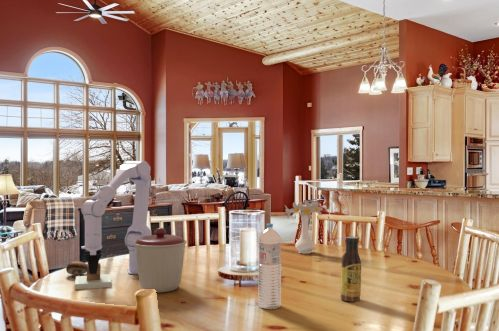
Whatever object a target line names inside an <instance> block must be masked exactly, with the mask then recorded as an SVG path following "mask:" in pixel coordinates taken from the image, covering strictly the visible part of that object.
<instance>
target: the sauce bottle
mask: <svg viewBox="0 0 499 331" xmlns="http://www.w3.org/2000/svg"><path fill="white" fill-rule="evenodd" d="M359 240H360V239H359V237H357V236H346V237H345V252H344V253H343V255H342V257H341V267H340V299H341V300H342V301H344V302H350V303H352V302H353V303H355V302H359V301H360V300H361V292H362V291H361V287H362V261H361V256H360V255H359V249H358V247H359Z"/></svg>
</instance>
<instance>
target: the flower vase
mask: <svg viewBox="0 0 499 331" xmlns="http://www.w3.org/2000/svg"><path fill="white" fill-rule="evenodd" d="M284 207H285V209H284V210H285V213H286V214H287V216H286V217H287V220H289V219H290V215H291V213H292V215H291V216H292V217H293V218H294V217H296V215H297V214H299V213H300V218H301V233H300V236H299V238H298V240H297V241H296V243H295V244H294V245H295V246H294V247H295V249H296V250H297V251H298V253H299V254H301V253H302V254H303V255H304V254H305V255H307V254H312V251H313V250H314V249H315V247H316V246H315V243H314V241H313V240H312V239H311V237H310V232H309V220H312V213H313V214H314V213H318V214H319V215H320V216H323V213H322V212H321V211H323V210H324V209H323V207H322V206H319V201H318V200H316V201H312V202H308V200H305V201H304V204H303V201H300V202H299V203H298V204H297V203H296V202H293V203H292V208H288V207H287V205H284Z"/></svg>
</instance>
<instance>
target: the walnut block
mask: <svg viewBox="0 0 499 331" xmlns="http://www.w3.org/2000/svg"><path fill="white" fill-rule="evenodd" d="M86 264H87V272H86V276H87V280H100V275H101V267H102V266H101V262H98V268H97V273H96V274H90V271H89V266H88V263H86Z"/></svg>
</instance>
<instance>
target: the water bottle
mask: <svg viewBox="0 0 499 331" xmlns="http://www.w3.org/2000/svg"><path fill="white" fill-rule="evenodd" d="M273 227H274V224H273V223H266V229H265V230H263V231H262V232H261V233H260V234H259V236H258V264H257V265H258V271H257V272H258V273H257V274H258V288H257V290H258V294H257V295H258V306H259V308H261V309H265V310H276V309H279V308H280V307H281V305H282V303H281V302H282V300H281V299H282V263H281V262H282V258H281V253H282V252H281V251H282V250H281V249H282V248H281V246H282V244H281V243H282V238H281V236H280V234H279V233H278V232H277V230H275V229H274V228H273Z"/></svg>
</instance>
